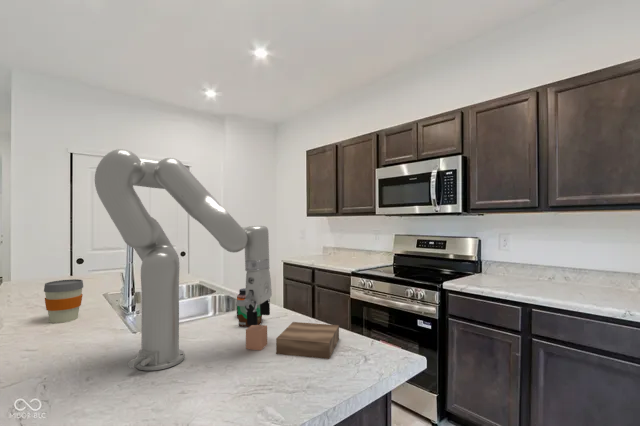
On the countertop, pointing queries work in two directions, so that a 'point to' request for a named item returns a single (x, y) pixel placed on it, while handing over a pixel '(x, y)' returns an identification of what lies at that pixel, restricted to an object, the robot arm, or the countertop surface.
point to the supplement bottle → (241, 296)
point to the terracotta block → (256, 337)
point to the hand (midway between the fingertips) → (259, 319)
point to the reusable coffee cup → (63, 300)
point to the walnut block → (308, 340)
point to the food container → (243, 314)
